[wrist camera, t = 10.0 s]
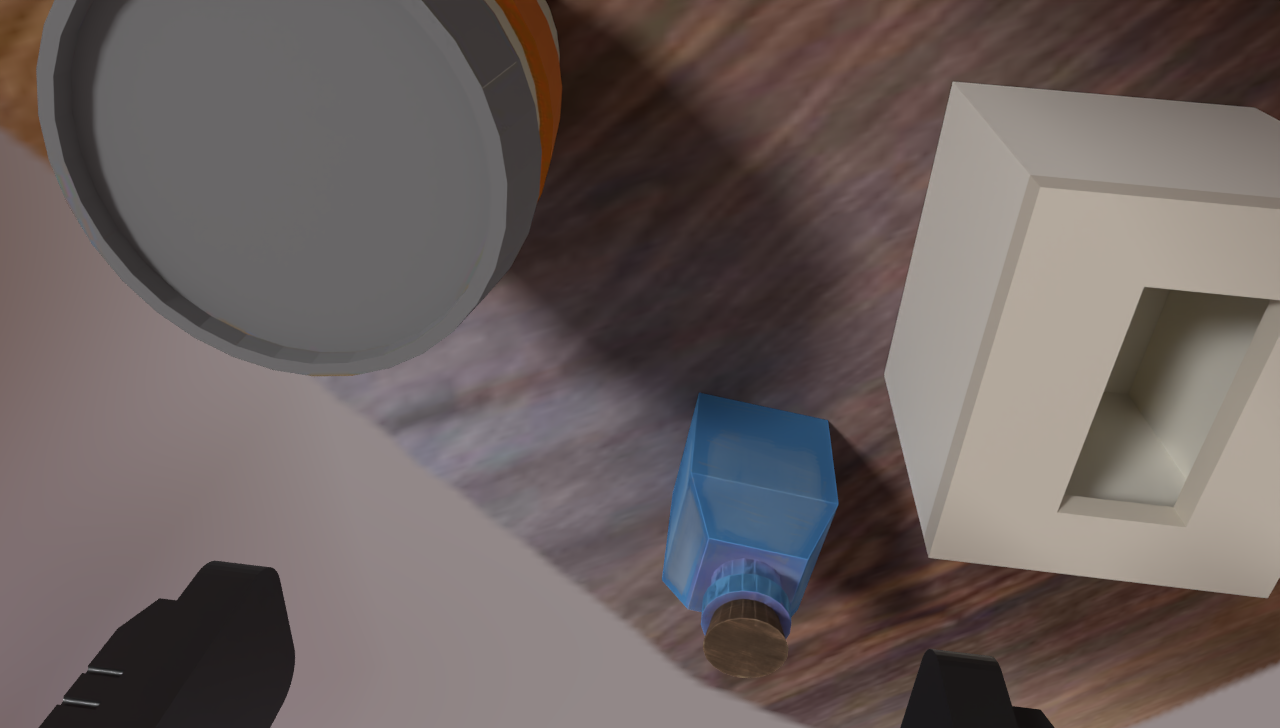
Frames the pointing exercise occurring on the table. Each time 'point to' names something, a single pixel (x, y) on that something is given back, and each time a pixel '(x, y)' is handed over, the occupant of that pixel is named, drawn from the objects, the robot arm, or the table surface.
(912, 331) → the tissue box
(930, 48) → the table surface
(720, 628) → the perfume bottle
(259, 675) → the robot arm
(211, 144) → the reusable coffee cup
